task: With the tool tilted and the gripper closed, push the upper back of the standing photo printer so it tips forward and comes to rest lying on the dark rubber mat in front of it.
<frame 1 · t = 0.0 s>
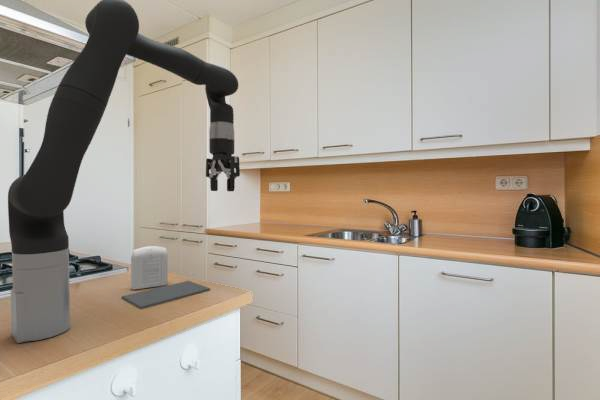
hand: (222, 191, 101), 29 cm above the worktop, tool pointing down, fingers open, 8 cm apart
photo printer: (150, 287, 100), on the worktop
mat: (167, 294, 93), on the worktop
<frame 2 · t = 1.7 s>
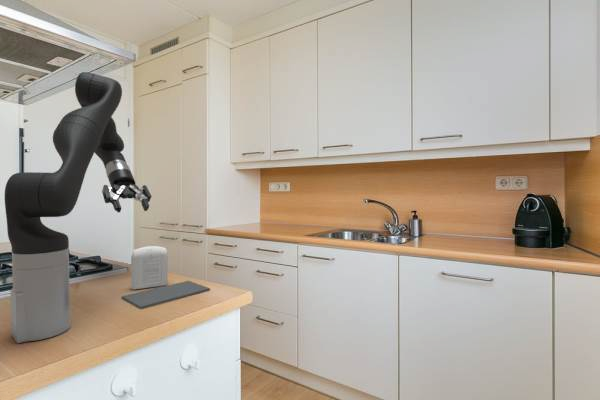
hand: (133, 210, 107), 23 cm above the worktop, tool tilted 45°, fingers open, 8 cm apart
nothing on the worktop moved.
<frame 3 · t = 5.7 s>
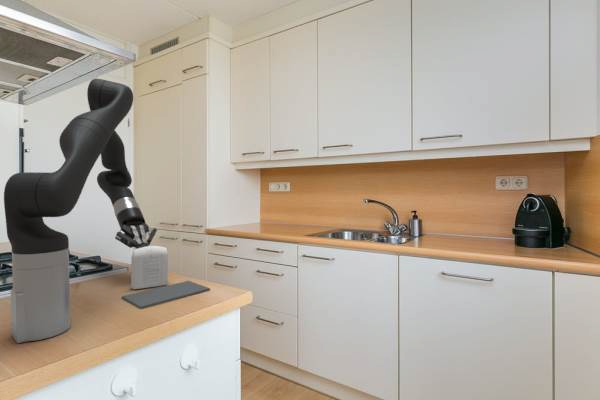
hand: (145, 255, 101), 9 cm above the worktop, tool tilted 45°, fingers closed
nothing on the worktop moved.
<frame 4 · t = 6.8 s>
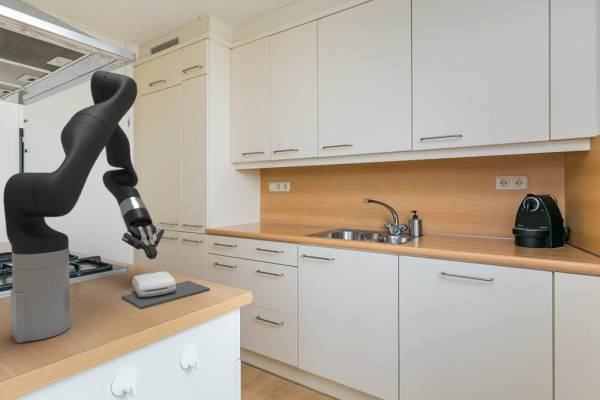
hand: (153, 257, 98), 9 cm above the worktop, tool tilted 45°, fingers closed
photo printer: (150, 279, 98), point 3 cm above the worktop, touching mat
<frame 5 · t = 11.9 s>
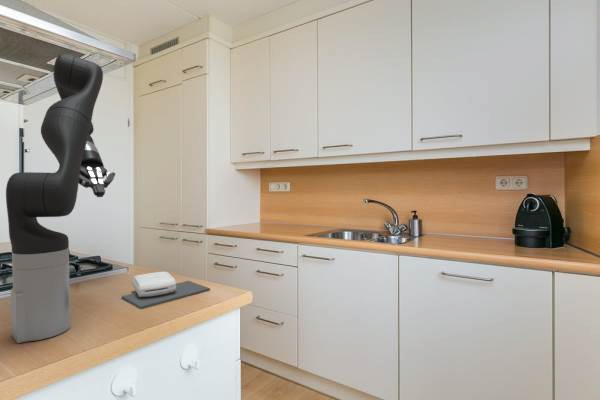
hand: (100, 195, 100), 28 cm above the worktop, tool tilted 45°, fingers closed
nothing on the worktop moved.
at the end: photo printer tilted 90°; photo printer touching mat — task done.
